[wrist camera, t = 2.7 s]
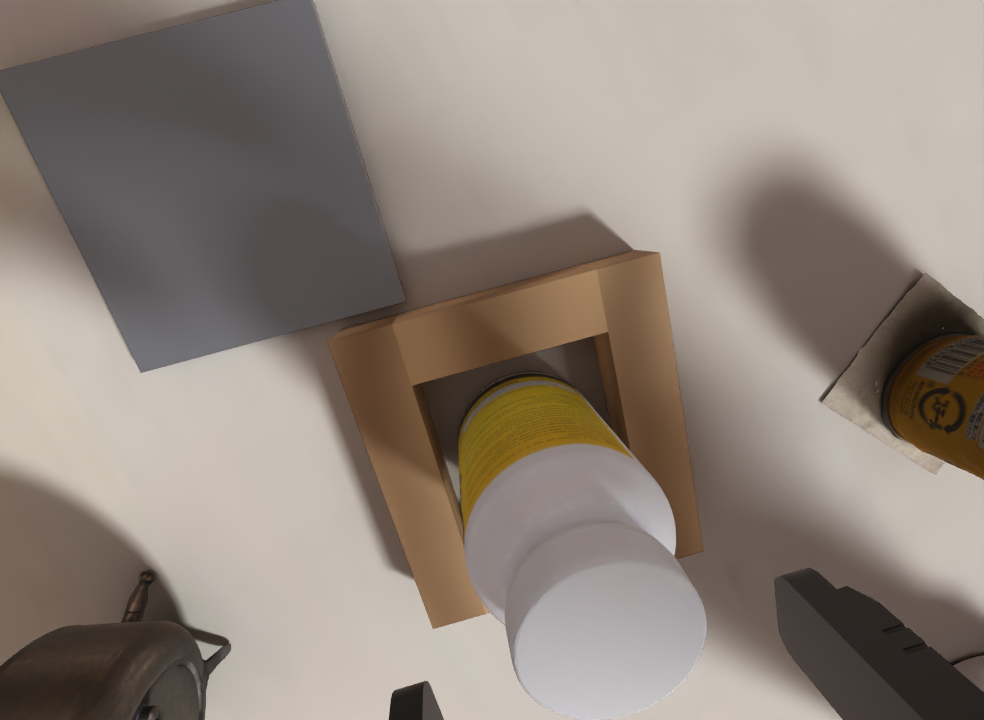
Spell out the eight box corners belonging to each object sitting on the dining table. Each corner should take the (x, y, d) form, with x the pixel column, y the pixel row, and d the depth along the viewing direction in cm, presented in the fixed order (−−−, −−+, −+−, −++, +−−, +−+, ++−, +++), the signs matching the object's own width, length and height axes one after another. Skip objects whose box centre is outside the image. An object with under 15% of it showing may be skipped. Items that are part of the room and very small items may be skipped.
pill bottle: (434, 400, 21) (421, 592, 10) (567, 345, 21) (706, 476, 10) (488, 515, 23) (529, 785, 12) (610, 464, 23) (770, 689, 12)
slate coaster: (313, 1, 17) (308, -8, 16) (406, 299, 20) (405, 301, 19) (6, 78, 16) (-9, 72, 16) (149, 368, 19) (141, 372, 19)
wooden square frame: (635, 249, 20) (659, 252, 18) (678, 520, 24) (703, 551, 22) (340, 329, 20) (327, 342, 17) (434, 590, 24) (433, 629, 21)
